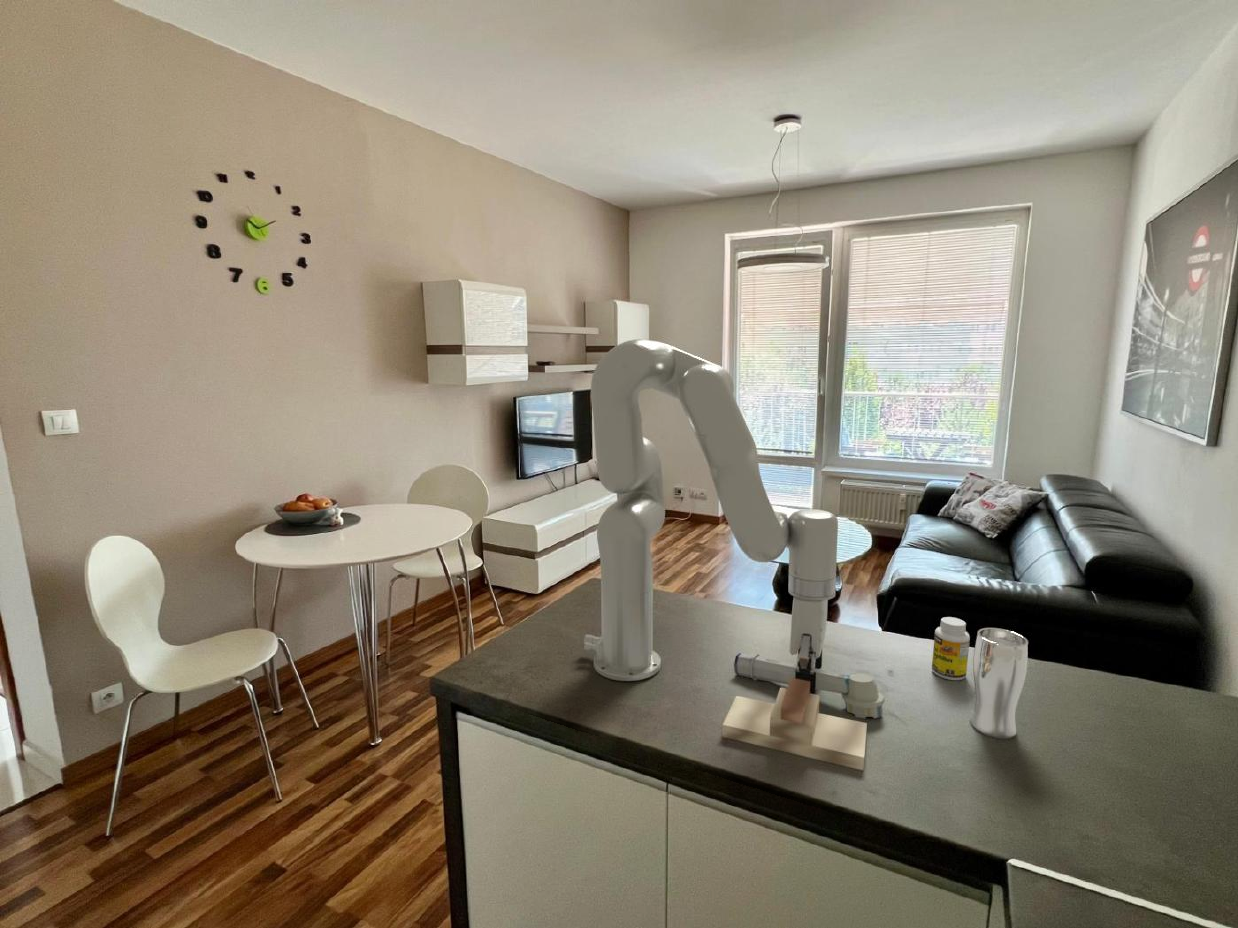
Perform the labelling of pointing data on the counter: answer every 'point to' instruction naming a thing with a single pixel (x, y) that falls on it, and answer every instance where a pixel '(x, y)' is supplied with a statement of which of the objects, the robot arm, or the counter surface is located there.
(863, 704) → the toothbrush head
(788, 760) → the counter surface
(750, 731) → the stepped podium stack
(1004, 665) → the beer glass
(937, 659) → the supplement bottle
